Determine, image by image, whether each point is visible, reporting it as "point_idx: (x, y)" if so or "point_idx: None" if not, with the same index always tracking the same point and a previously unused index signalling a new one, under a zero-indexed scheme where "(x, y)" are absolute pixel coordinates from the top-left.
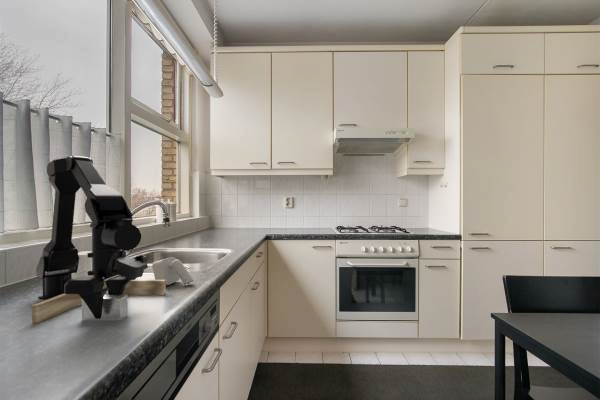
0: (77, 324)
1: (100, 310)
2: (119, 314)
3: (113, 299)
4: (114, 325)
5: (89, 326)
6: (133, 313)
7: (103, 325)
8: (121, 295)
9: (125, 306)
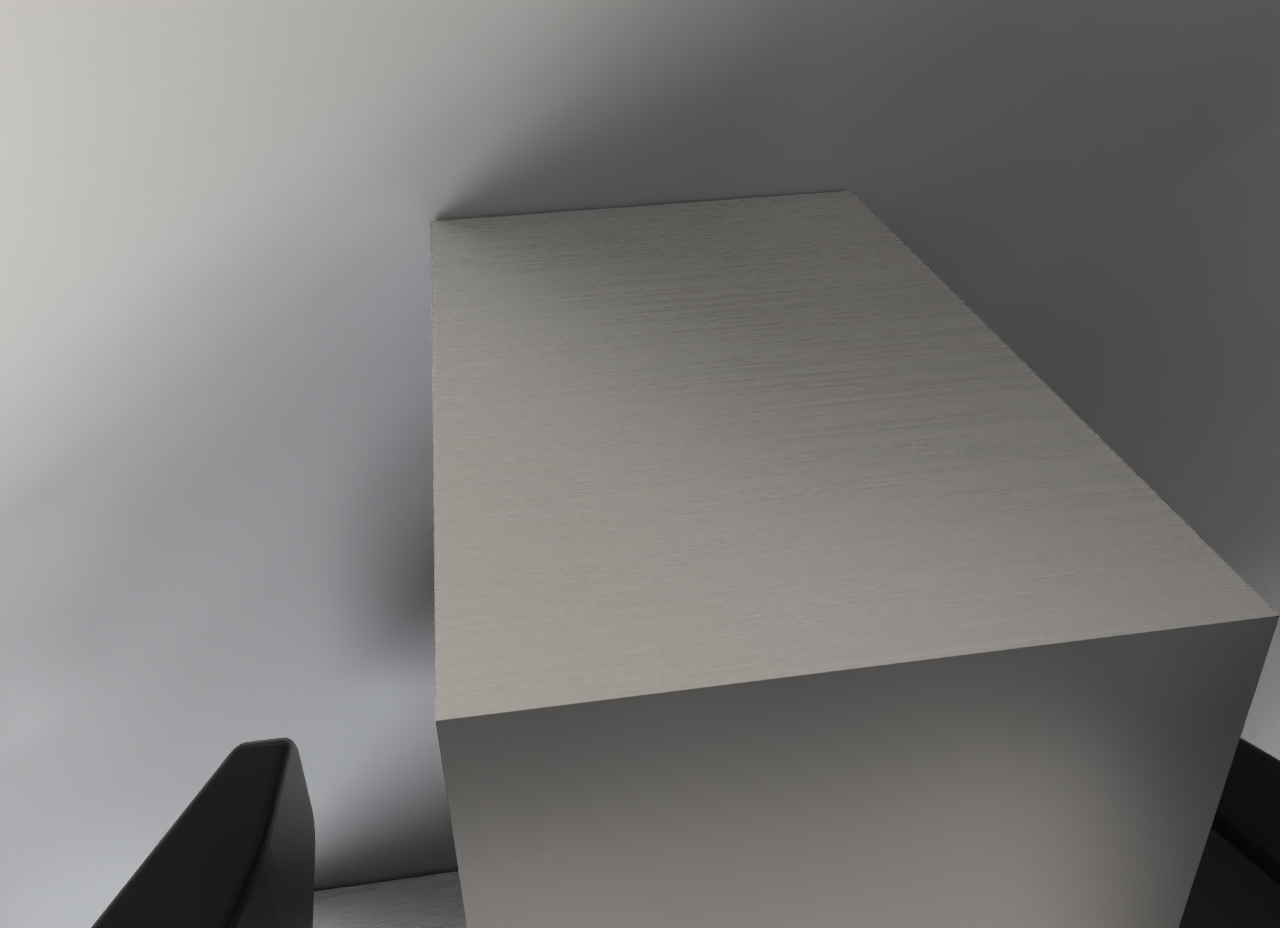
0: None
1: (1270, 770)
2: (914, 275)
3: (1178, 858)
4: (1226, 92)
5: None
6: (186, 162)
7: (1160, 394)
8: (604, 925)
9: (602, 364)
